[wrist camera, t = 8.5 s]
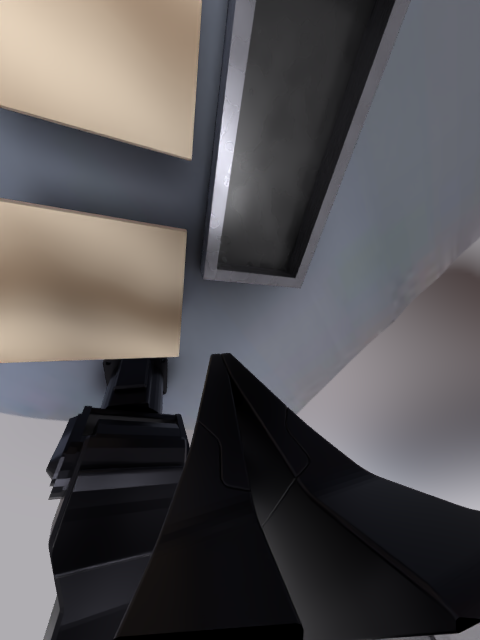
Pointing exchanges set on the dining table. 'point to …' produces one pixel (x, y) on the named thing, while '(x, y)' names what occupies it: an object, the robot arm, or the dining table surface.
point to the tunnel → (86, 228)
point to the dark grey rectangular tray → (288, 128)
